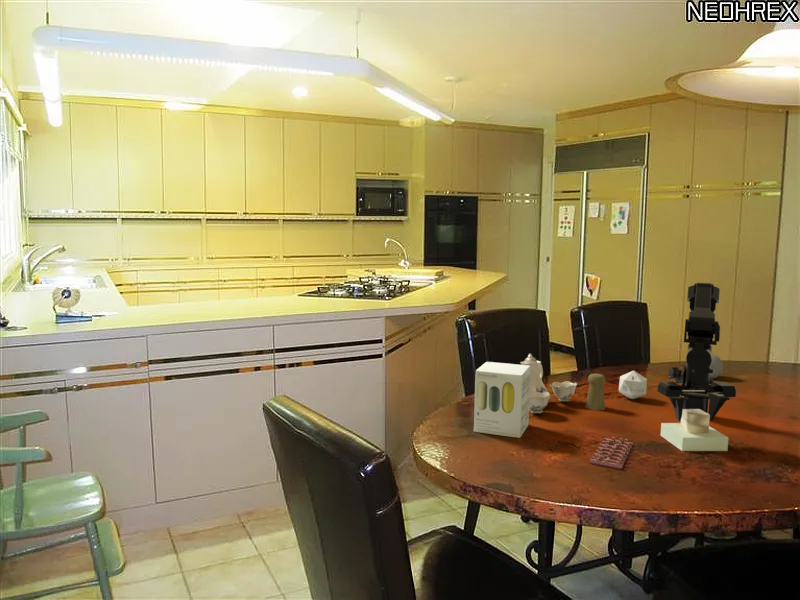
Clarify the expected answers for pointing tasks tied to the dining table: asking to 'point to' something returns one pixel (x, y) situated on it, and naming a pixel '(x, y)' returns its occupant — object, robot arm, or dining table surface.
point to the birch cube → (695, 421)
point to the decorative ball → (716, 366)
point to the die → (632, 385)
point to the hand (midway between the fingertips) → (694, 420)
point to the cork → (596, 392)
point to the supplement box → (502, 399)
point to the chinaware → (539, 391)
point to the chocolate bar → (612, 453)
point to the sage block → (694, 438)
